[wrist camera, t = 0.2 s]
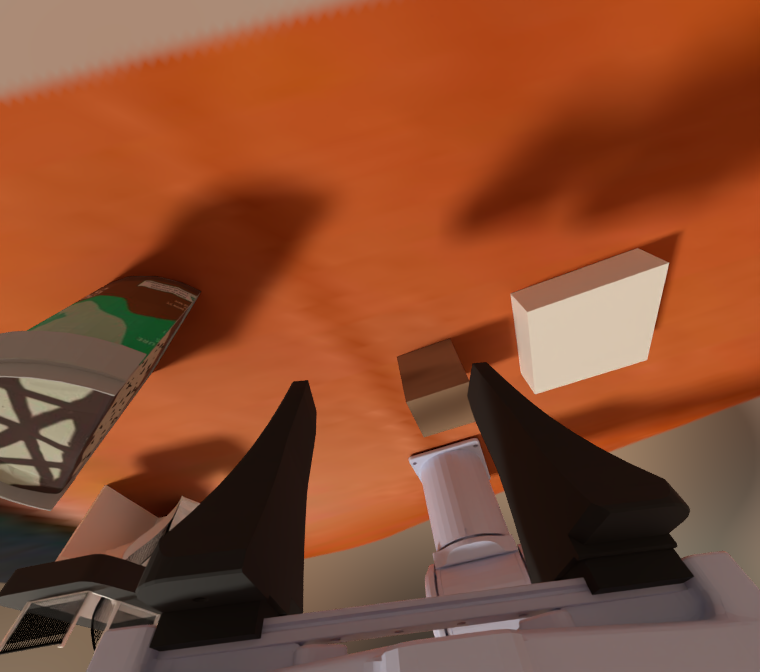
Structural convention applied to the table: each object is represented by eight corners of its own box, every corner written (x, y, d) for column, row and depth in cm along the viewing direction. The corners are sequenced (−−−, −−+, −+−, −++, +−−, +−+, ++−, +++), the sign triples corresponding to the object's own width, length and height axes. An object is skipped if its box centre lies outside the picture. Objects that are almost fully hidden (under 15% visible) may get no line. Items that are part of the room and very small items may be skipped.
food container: (101, 212, 17) (-115, 301, 9) (211, 275, 20) (119, 387, 12) (51, 348, 22) (-117, 484, 14) (144, 384, 25) (48, 515, 17)
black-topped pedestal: (313, 520, 43) (302, 657, 32) (142, 554, 44) (77, 695, 34) (198, 387, 26) (95, 579, 15) (-70, 450, 28) (-330, 662, 17)
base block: (620, 337, 27) (647, 359, 25) (518, 370, 28) (534, 394, 26) (633, 245, 22) (669, 262, 19) (508, 291, 23) (527, 312, 21)
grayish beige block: (461, 375, 27) (480, 420, 23) (412, 390, 28) (423, 437, 24) (449, 337, 25) (469, 381, 21) (396, 356, 25) (406, 402, 21)
